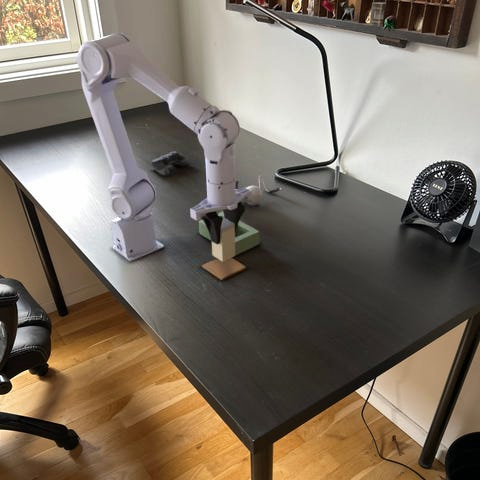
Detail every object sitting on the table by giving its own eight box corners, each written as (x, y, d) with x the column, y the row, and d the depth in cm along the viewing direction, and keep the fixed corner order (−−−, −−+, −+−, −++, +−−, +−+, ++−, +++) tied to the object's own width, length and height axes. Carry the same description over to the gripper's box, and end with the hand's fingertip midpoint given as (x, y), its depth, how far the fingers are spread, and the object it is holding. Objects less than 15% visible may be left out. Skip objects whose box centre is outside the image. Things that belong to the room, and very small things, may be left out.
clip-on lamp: (261, 194, 145) (208, 196, 136) (264, 172, 142) (210, 172, 133) (284, 206, 137) (230, 208, 127) (289, 183, 134) (233, 184, 124)
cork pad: (221, 280, 106) (221, 278, 106) (202, 267, 110) (201, 265, 110) (245, 268, 110) (245, 266, 110) (225, 256, 114) (225, 254, 114)
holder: (235, 255, 114) (234, 242, 112) (199, 233, 122) (198, 221, 120) (259, 244, 118) (259, 231, 116) (222, 223, 126) (222, 211, 124)
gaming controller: (166, 177, 147) (161, 160, 145) (149, 176, 152) (145, 160, 149) (192, 164, 155) (188, 148, 152) (176, 164, 159) (171, 148, 157)
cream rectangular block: (222, 261, 106) (221, 229, 101) (212, 255, 108) (210, 222, 103) (235, 255, 108) (234, 223, 103) (224, 249, 110) (223, 217, 105)
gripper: (204, 196, 91) (208, 258, 99) (261, 174, 98) (260, 234, 107) (181, 184, 95) (187, 245, 104) (238, 164, 102) (239, 222, 111)
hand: (223, 238), depth 105 cm, fingers closed on cream rectangular block, 3 cm apart
